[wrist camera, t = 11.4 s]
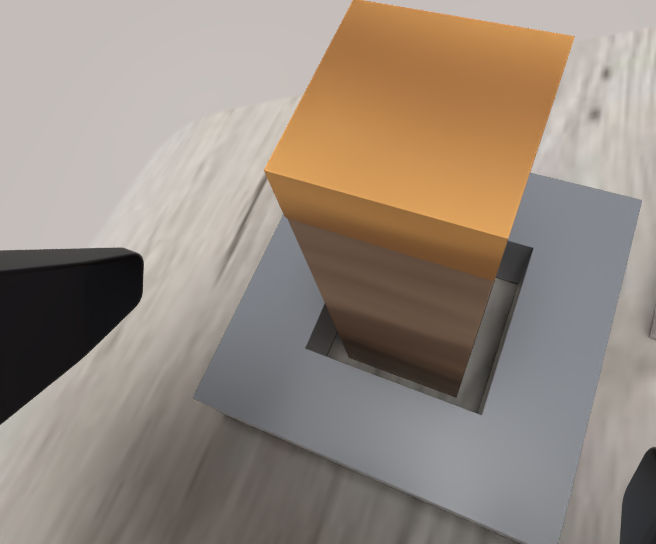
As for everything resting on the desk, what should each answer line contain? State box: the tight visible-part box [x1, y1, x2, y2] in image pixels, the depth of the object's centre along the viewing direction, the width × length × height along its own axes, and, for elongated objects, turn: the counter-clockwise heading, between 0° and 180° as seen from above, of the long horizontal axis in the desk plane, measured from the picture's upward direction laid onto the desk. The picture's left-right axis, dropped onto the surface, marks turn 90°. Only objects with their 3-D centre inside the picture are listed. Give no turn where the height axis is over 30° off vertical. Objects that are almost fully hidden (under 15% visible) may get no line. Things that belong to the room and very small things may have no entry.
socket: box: [193, 173, 642, 544], centre depth 19 cm, size 11×11×3 cm
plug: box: [264, 0, 575, 397], centre depth 15 cm, size 4×4×12 cm
